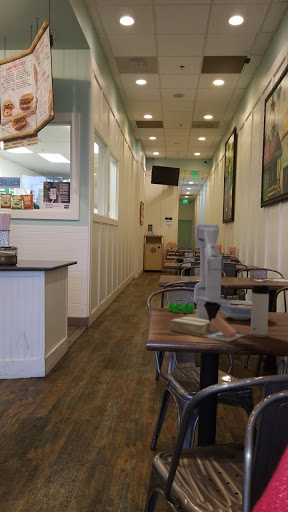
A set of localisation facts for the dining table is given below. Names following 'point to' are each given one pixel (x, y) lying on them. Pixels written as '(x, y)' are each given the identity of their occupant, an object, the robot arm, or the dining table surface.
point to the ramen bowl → (238, 309)
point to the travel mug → (259, 311)
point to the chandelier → (181, 307)
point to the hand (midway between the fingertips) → (211, 321)
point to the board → (192, 326)
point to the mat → (222, 336)
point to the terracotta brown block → (223, 327)
